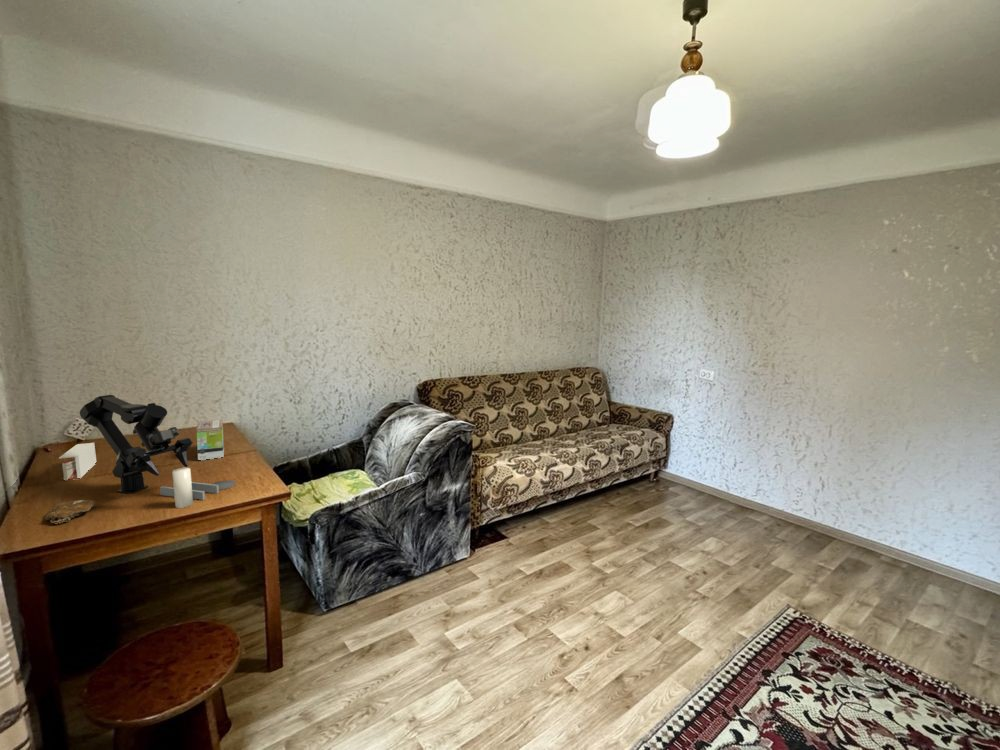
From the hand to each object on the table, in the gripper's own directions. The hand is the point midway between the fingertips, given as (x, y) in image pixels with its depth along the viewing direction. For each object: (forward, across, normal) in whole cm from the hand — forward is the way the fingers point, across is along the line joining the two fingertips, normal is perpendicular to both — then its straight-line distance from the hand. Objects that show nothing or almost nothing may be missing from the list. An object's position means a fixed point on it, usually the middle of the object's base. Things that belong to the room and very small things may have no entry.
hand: (172, 470), depth 152 cm
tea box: (-19, +38, +35) cm, 55 cm away
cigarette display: (-36, +1, +53) cm, 64 cm away
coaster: (+8, +16, +8) cm, 20 cm away
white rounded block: (+12, 0, +5) cm, 12 cm away
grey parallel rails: (+6, +7, +10) cm, 14 cm away
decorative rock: (-5, -20, +22) cm, 31 cm away
